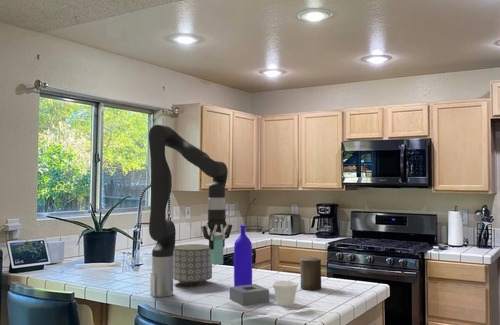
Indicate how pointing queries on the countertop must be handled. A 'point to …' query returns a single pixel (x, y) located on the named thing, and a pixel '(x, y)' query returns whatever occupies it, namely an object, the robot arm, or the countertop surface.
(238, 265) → the bottle
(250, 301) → the grey socket block
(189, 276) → the planter
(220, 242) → the plug
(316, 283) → the pillar candle
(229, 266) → the countertop surface
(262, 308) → the countertop surface
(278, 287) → the cup
